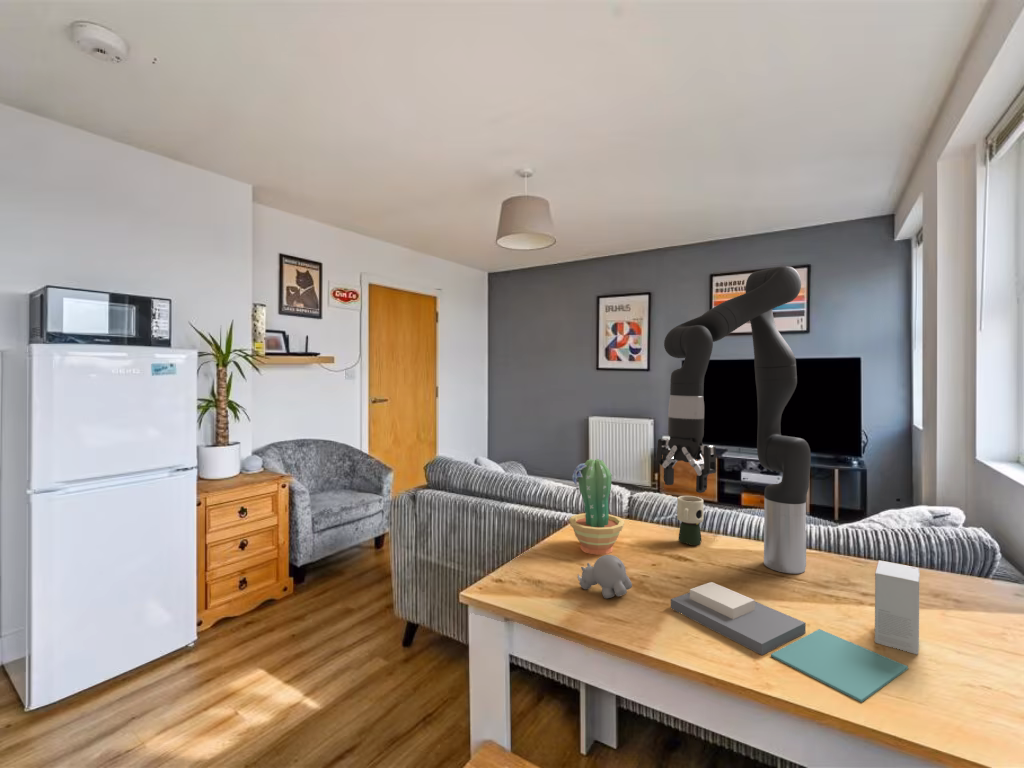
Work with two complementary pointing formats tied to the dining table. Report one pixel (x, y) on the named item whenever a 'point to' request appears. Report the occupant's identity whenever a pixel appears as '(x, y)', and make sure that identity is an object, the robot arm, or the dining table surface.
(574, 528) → the potted cactus
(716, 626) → the plate
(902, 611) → the small box
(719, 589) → the cream tile
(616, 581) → the chubby cartoon animal
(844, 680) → the teal mat
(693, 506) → the character mug
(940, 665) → the dining table surface
